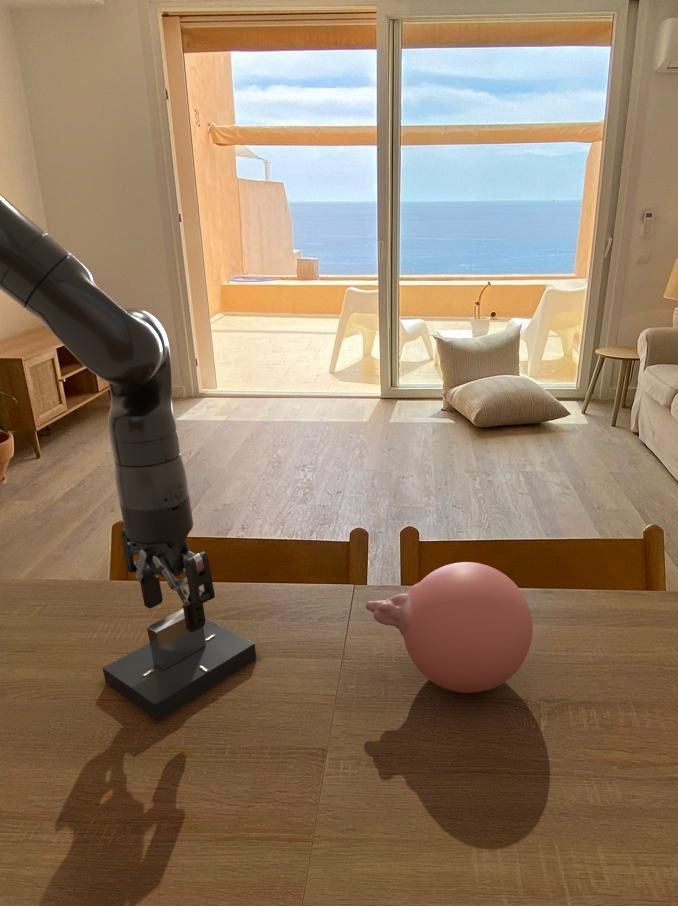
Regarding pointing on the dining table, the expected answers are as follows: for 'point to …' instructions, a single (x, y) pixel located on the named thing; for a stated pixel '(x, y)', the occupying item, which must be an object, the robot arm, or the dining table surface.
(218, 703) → the dining table surface
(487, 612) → the balloon
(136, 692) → the base
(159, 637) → the tap handle
